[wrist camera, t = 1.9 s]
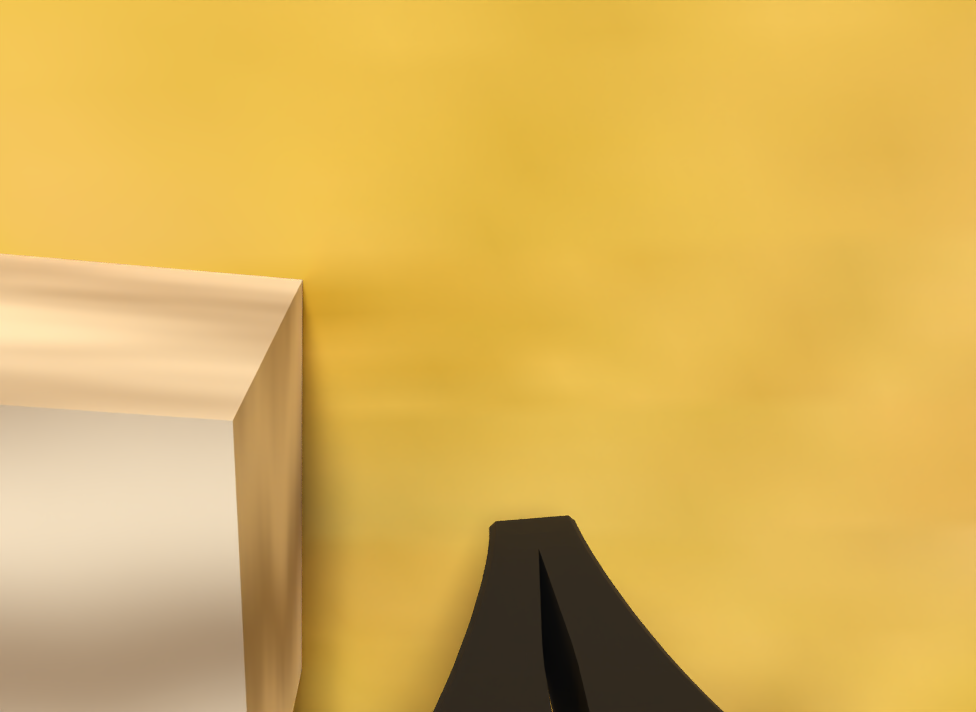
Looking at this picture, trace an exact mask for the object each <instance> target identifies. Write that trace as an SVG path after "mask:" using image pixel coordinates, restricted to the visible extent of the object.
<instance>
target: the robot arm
mask: <svg viewBox="0 0 976 712" xmlns="http://www.w3.org/2000/svg"><path fill="white" fill-rule="evenodd" d="M549 696H550V698H549ZM550 701H551V704H550ZM551 705H552V710H553V712H723V711H722V710H721V709H720V708H719V707H718V706H717V705H716V704H715V703H714V702H713V701H712V700H711V699H710V698H709V697H708V696H707V695H706V694H705V693H704V692H703V691H702V690H701V689H700V688H699V687H698V686H697V685H696V684H695V683H694V682H693V681H692V680H691V679H690V678H689V677H688V676H687V675H686V674H685V672H684V671H683V670H682V669H681V668H680V667H679V666H678V665H677V664H676V663H675V661H674V660H673V659H672V658H671V657H670V656H669V655H668V654H667V652H666V651H665V650H664V649H663V648H662V647H661V645H660V644H659V643H658V642H657V641H656V639H655V638H654V637H653V636H652V635H651V633H650V632H649V631H648V630H647V629H646V627H645V626H644V625H643V624H642V622H641V621H640V620H639V618H638V617H637V616H636V615H635V613H634V612H633V611H632V609H631V608H630V607H629V605H628V604H627V603H626V601H625V600H624V598H623V597H622V596H621V594H620V593H619V592H618V590H617V589H616V588H615V586H614V585H613V583H612V582H611V581H610V579H609V578H608V576H607V575H606V573H605V572H604V570H603V569H602V567H601V566H600V564H599V562H598V561H597V559H596V558H595V556H594V555H593V553H592V551H591V550H590V548H589V546H588V545H587V543H586V541H585V540H584V538H583V536H582V534H581V532H580V530H579V528H578V526H577V524H576V522H575V520H573V519H572V518H571V517H570V516H556V517H544V518H531V519H519V520H507V521H496V522H495V523H494V524H493V525H491V526H490V527H489V547H488V555H487V560H486V565H485V570H484V574H483V579H482V583H481V586H480V590H479V593H478V597H477V600H476V604H475V607H474V611H473V614H472V617H471V620H470V623H469V626H468V629H467V632H466V634H465V637H464V640H463V642H462V645H461V648H460V650H459V653H458V656H457V658H456V661H455V664H454V666H453V669H452V671H451V673H450V676H449V678H448V680H447V683H446V685H445V687H444V689H443V692H442V694H441V696H440V698H439V700H438V702H437V705H436V707H435V709H434V711H433V712H552V710H551Z"/></svg>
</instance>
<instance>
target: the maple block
mask: <svg viewBox="0 0 976 712" xmlns="http://www.w3.org/2000/svg"><path fill="white" fill-rule="evenodd" d="M301 671H302V280H298V279H286V278H275V277H263V276H252V275H240V274H229V273H217V272H206V271H194V270H182V269H171V268H159V267H148V266H136V265H125V264H113V263H102V262H90V261H79V260H67V259H56V258H44V257H33V256H21V255H9V254H0V712H293V709H294V704H295V699H296V695H297V690H298V685H299V680H300V676H301Z"/></svg>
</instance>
